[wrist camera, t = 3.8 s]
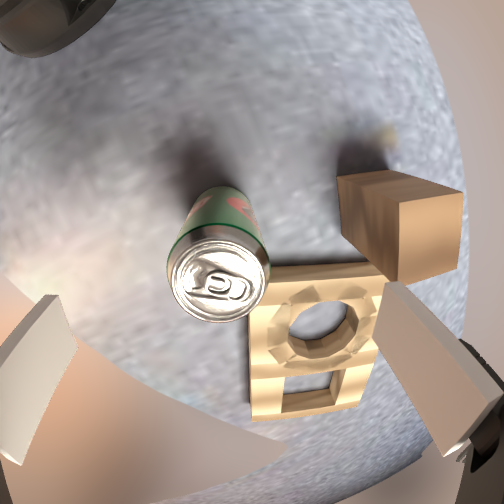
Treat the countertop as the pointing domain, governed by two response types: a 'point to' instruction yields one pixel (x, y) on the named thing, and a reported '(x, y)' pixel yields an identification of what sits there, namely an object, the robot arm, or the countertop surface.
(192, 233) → the soda can
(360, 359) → the socket board
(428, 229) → the walnut square peg
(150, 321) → the countertop surface
